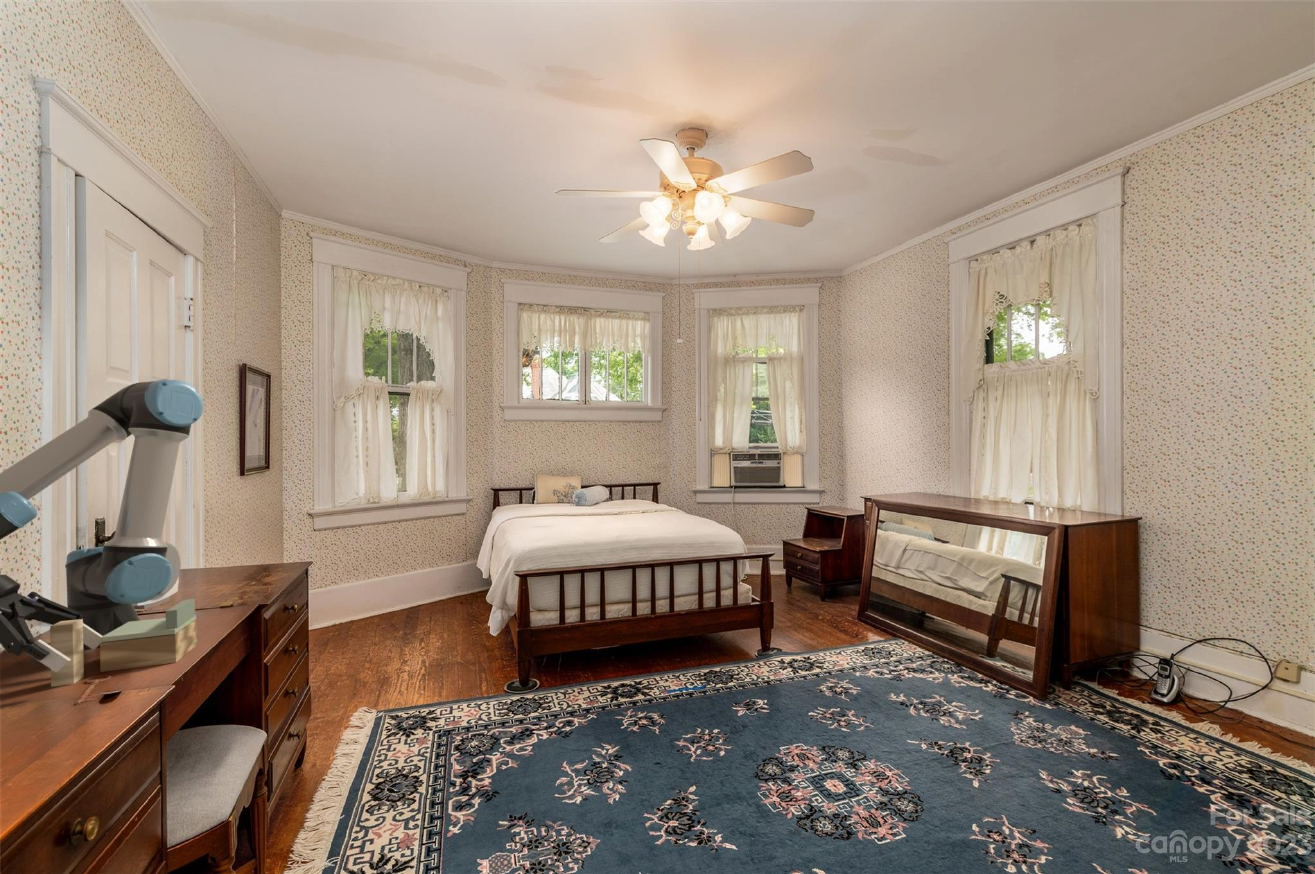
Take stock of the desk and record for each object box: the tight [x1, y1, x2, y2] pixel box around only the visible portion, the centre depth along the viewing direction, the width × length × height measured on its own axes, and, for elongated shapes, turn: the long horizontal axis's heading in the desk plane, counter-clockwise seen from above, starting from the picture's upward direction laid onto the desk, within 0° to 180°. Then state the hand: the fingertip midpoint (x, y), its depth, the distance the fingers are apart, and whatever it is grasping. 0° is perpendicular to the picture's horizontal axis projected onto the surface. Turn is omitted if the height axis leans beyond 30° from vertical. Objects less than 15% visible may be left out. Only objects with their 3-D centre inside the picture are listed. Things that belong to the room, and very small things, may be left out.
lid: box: [101, 598, 197, 642], centre depth 131 cm, size 12×13×5 cm
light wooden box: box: [99, 619, 198, 673], centre depth 131 cm, size 12×13×6 cm
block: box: [49, 619, 85, 687], centre depth 118 cm, size 4×4×12 cm
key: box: [73, 675, 112, 705], centre depth 115 cm, size 6×1×15 cm
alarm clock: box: [133, 541, 182, 609], centre depth 175 cm, size 18×8×20 cm, turn 6°
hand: (83, 654), depth 120 cm, fingers open, 12 cm apart
